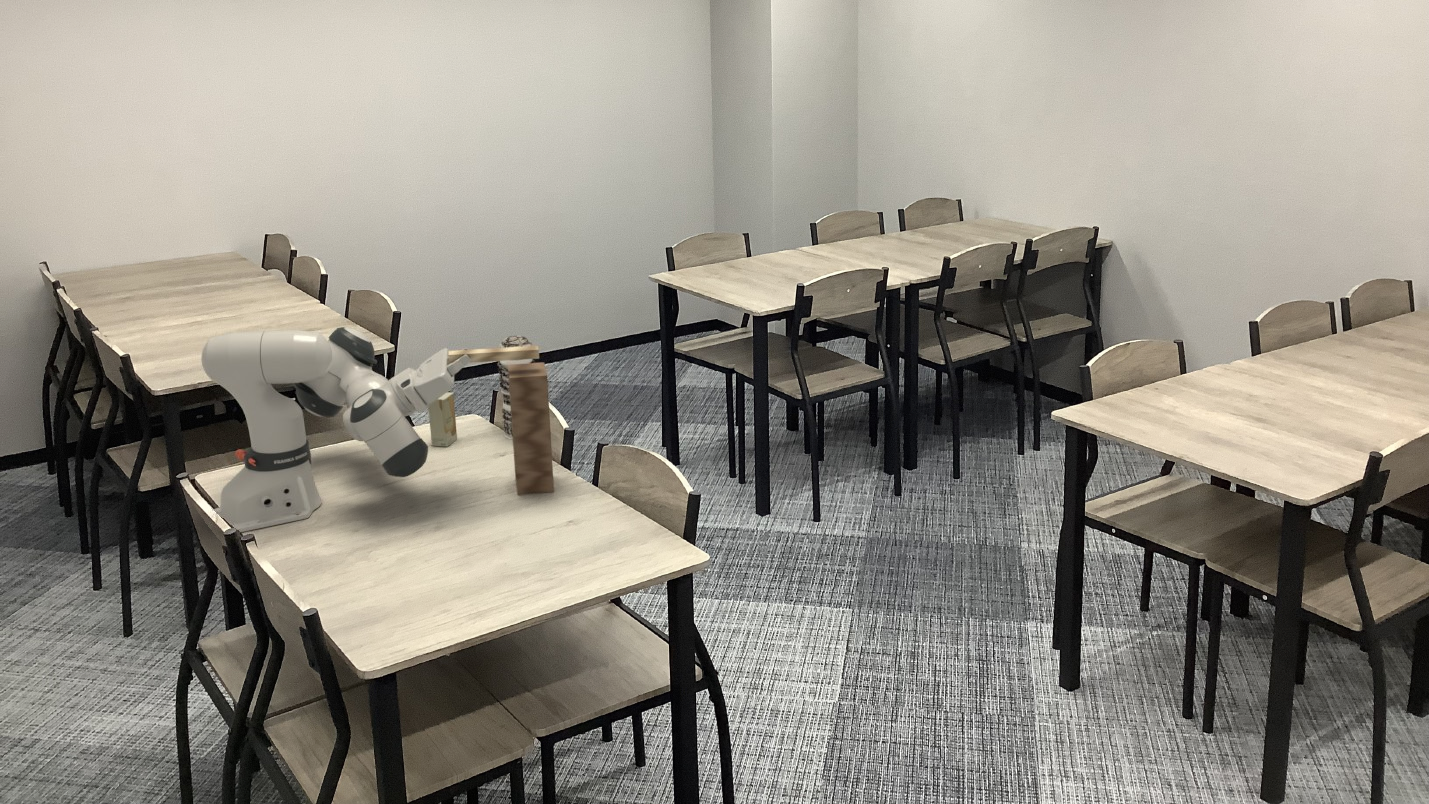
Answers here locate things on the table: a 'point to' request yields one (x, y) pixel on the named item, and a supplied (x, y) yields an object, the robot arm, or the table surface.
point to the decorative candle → (508, 342)
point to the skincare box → (443, 420)
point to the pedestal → (531, 428)
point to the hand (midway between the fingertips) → (468, 354)
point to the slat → (496, 354)
